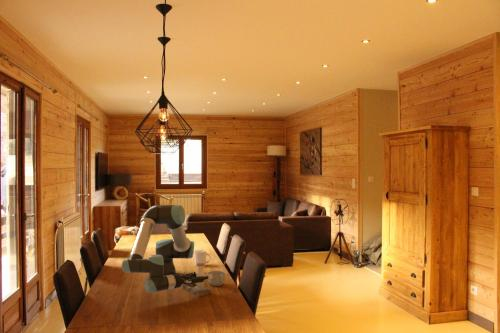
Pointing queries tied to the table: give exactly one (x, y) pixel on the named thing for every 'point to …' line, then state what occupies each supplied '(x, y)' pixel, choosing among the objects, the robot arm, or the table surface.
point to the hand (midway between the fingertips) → (209, 275)
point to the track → (191, 289)
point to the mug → (200, 257)
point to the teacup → (217, 278)
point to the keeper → (200, 272)
